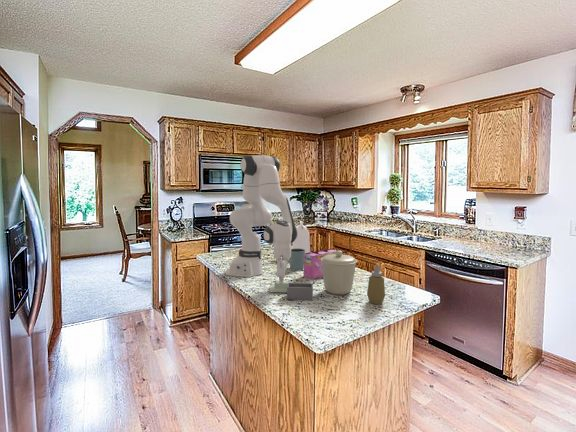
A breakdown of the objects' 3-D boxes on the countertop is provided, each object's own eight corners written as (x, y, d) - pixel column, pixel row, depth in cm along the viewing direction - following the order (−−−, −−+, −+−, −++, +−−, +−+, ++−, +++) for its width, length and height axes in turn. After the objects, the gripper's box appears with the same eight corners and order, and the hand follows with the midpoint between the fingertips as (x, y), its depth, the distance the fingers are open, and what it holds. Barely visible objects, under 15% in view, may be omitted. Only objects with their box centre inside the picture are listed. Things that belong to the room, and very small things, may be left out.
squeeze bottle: (364, 299, 158) (365, 262, 156) (381, 299, 159) (382, 262, 157) (370, 306, 150) (371, 266, 148) (387, 305, 151) (389, 266, 149)
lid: (269, 293, 167) (269, 284, 166) (271, 288, 174) (271, 279, 174) (294, 294, 166) (294, 285, 165) (295, 289, 173) (295, 280, 173)
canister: (318, 285, 179) (319, 246, 176) (353, 286, 178) (354, 247, 176) (321, 297, 161) (322, 254, 158) (359, 298, 160) (360, 254, 158)
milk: (291, 255, 247) (292, 220, 244) (307, 255, 248) (307, 220, 246) (294, 259, 235) (294, 222, 232) (310, 259, 237) (310, 222, 234)
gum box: (332, 269, 211) (332, 248, 209) (341, 272, 205) (341, 250, 203) (303, 275, 196) (303, 253, 195) (312, 279, 190) (312, 255, 189)
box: (287, 299, 157) (287, 287, 157) (287, 294, 164) (287, 282, 164) (312, 300, 157) (312, 288, 156) (312, 295, 164) (312, 283, 163)
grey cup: (287, 269, 209) (287, 251, 207) (290, 265, 218) (291, 247, 217) (303, 271, 206) (303, 252, 205) (306, 266, 216) (306, 248, 215)
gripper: (287, 259, 158) (286, 287, 159) (289, 249, 178) (289, 274, 180) (274, 258, 158) (273, 286, 160) (277, 248, 178) (277, 273, 180)
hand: (281, 280), depth 170 cm, fingers open, 8 cm apart
